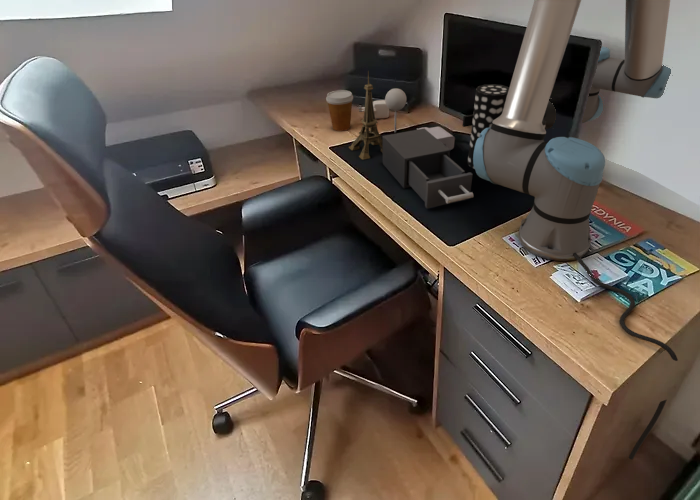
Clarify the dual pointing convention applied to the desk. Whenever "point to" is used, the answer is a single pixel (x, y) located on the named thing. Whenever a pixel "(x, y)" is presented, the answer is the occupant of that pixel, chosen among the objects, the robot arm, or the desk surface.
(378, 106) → the power adapter
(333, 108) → the disposable coffee cup
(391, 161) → the cabinet
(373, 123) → the eiffel tower
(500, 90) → the white-spotted black cylinder
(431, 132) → the charger
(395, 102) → the lollipop
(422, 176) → the drawer
